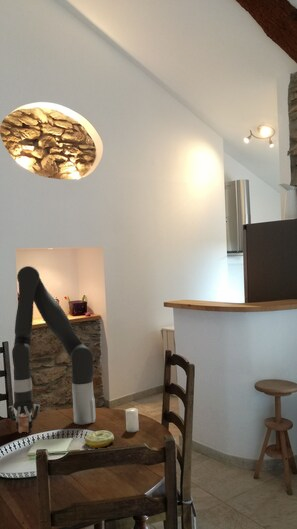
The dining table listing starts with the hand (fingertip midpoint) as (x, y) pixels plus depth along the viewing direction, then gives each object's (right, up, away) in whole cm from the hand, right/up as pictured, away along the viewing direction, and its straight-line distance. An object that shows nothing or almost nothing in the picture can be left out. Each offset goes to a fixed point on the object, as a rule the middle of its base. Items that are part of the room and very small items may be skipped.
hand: (24, 429), depth 175 cm
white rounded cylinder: (+46, +2, -6) cm, 46 cm away
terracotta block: (0, -1, 0) cm, 1 cm away
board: (+16, +1, -20) cm, 26 cm away
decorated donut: (+34, +2, -18) cm, 39 cm away
